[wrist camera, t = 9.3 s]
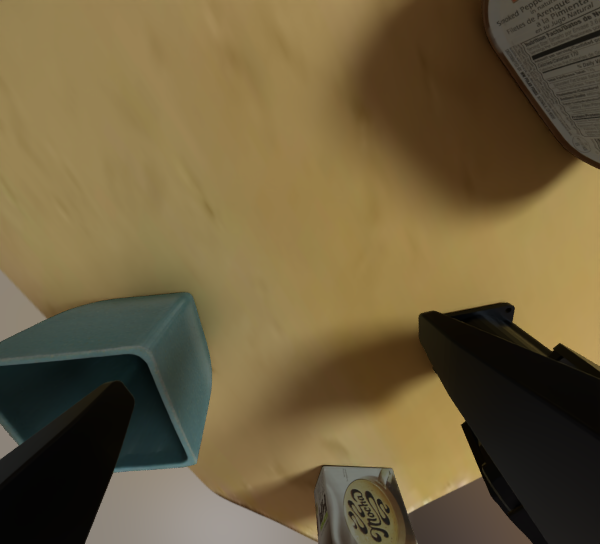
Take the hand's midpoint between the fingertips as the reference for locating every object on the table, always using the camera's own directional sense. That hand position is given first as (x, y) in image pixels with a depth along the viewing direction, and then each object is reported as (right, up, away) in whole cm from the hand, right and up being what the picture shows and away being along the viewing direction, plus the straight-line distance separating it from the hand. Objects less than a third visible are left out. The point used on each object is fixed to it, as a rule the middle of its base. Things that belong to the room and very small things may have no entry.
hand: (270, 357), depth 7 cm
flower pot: (-10, -1, +13) cm, 17 cm away
